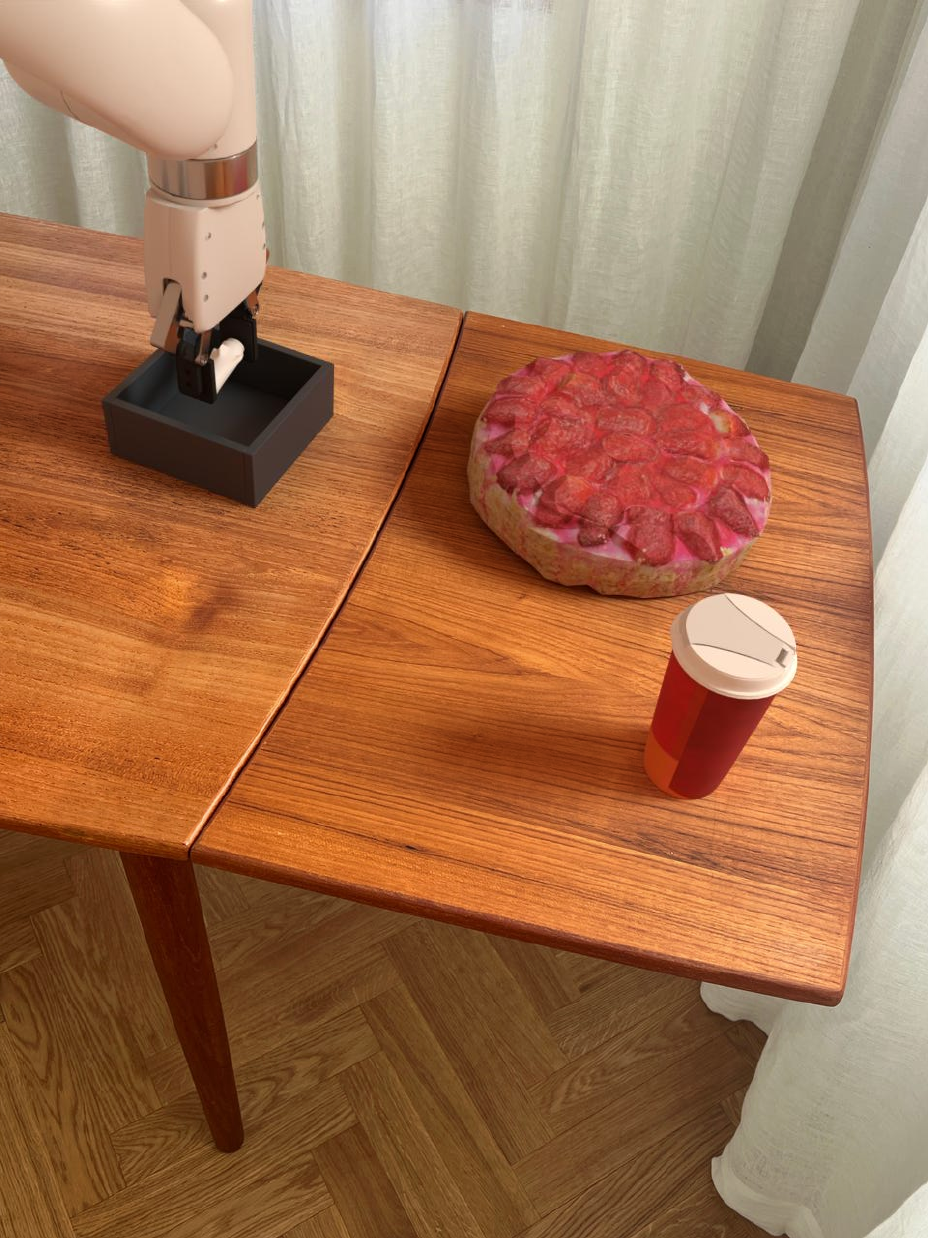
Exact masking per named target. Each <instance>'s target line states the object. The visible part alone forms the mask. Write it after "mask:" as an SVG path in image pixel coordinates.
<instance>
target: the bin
mask: <svg viewBox="0 0 928 1238" xmlns="http://www.w3.org/2000/svg"><path fill="white" fill-rule="evenodd" d="M196 337H197V333H196V332H195V331H193V330H190V329H187V328H185V337H184V341H187V342H189V343H191V344H193V345H195V346H196ZM257 345H258V359H257V360H256V361H255V362H253V363H250V362H247V361H244V360H241V361H240V362H239V363H238V364H237V365H236V367H235V368H234V370H233V371H232V373H231V374H230V375H229V377H228V378H227V380H226V381H225V383H224V384H223V385H222V387H221V388H220V390H219V391H218V393H217V400H216V401H215V402H214V403H213V404H208V403H205V402H203V401H200V400H197V399H194V398H192V397H189V396H186V395H183V394H181V393H180V392H179V389H178V381H177V372H176V363H175V356H172V355H170V354H169V353H168V352H166V351H164V350H161V349H158V348H156V350H154V351H153V352H152V353H151V354H149V356H148V357H147V358H145V359H144V360H143V361H142V362H141V363H140V364H138V366H137V367H136V368H135V369H133V370H132V371H131V372H130V373H129V374H128V375H127V376H125V378H124V379H122V381H120V382H119V383H118V384H117V385H116V386H114V387H113V388H112V389H111V390H110V391H109V392H108V393H106V395H105V396H103V397H102V398H101V400H100V402H101V406H102V414H103V418H104V424H105V429H106V435H107V441H108V446H109V452H110V454H112V455H115V456H118V457H119V458H123V459H125V460H127V461H131V462H133V463H136V464H139V465H140V466H144V467H146V468H148V469H152V470H154V471H156V472H159V473H162V474H165V475H168V476H170V477H172V478H175V479H178V480H180V481H183V482H186V483H188V484H190V485H194V486H196V487H199V488H201V489H204V490H207V491H209V492H211V493H214V494H218V495H220V496H222V497H225V498H228V499H231V500H234V501H237V502H238V503H241V504H243V505H246V506H249V507H251V508H255V509H256V508H257V506H258V505H259V504H260V503H261V502H262V501H263V500H264V498H265V497H266V496H267V495H268V494H269V493H270V491H271V490H272V489H273V488H274V487H275V486H276V484H277V483H278V481H280V480H281V478H282V477H283V476H284V474H286V472H287V471H288V470H289V469H290V468H291V466H292V465H293V464H294V463H295V462H296V460H297V459H298V458H299V457H300V456H301V455H302V454H303V452H304V451H305V450H306V449H307V447H308V446H309V445H310V444H311V443H312V442H313V440H315V438H316V437H317V435H318V434H319V433H320V432H321V431H322V430H323V428H325V426H327V424H328V423H329V422H330V420H331V419H332V418H333V417H334V415H335V414H334V413H335V410H334V409H335V408H334V407H335V363H334V362H330V361H327V360H324V359H322V358H318V357H316V356H313V355H310V354H307V353H304V352H301V351H299V350H296V349H292V348H290V347H286V346H283V345H281V344H278V343H275V342H272V341H271V340H267V339H263V338H261V337H258V336H257ZM220 346H221V343H220V330H219V323H218V324H217V325H215V326H214V327H213V328H212V331H211V339H210V348H209V356H208V358H210V355H211V353H212V350H213V349H214V348H215V349H219V348H220Z"/></svg>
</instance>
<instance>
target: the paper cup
mask: <svg viewBox="0 0 928 1238" xmlns="http://www.w3.org/2000/svg"><path fill="white" fill-rule="evenodd" d="M669 636H670V642H671V652H670V656H669V659H668V662H667V666H666V669H665V672H664V677H663V680H662V684H661V687H660V690H659V694H658V698H657V701H656V704H655V709H654V712H653V715H652V720H651V723H650V727H649V731H648V735H647V738H646V742H645V746H644V753H643V766H644V770H645V772H646V774H647V776H648V778H649V779H650V781H651V783H653V784H654V785H655V787H657V788H658V789H660V790H661V791H662V792H664V793H666V794H667V795H669V796H672V797H673V798H678V799H682V800H698V799H702V798H705V797H707V796H709V795H711V794H712V793H714V792H715V791H716V790H717V789H718V788H719V786H720V785H721V784H722V782H723V781H724V780H725V778H726V777H727V775H728V773H729V772H730V770H731V769H732V768H733V766H734V764H735V762H736V761H737V759H738V758H739V756H740V754H741V753H742V751H743V750H744V748H745V747H746V745H747V743H748V742H749V740H750V739H751V737H752V735H753V734H754V732H755V730H756V729H757V727H758V726H759V724H760V722H761V720H762V719H763V717H764V716H765V714H766V712H767V711H768V710H769V708H770V706H771V704H772V703H773V701H774V700H775V698H776V697H777V695H778V693H780V692H782V691H783V690H784V689H785V688H787V687H788V686H789V685H790V684H791V682H792V680H793V679H794V677H795V674H796V672H797V667H798V655H797V642H796V638H795V636H794V633H793V630H792V628H791V627H790V625H789V624H788V622H787V621H786V619H785V618H784V617H783V616H782V615H781V614H780V613H779V612H778V611H777V610H775V609H774V608H773V607H771V606H769V605H768V604H766V603H764V602H763V601H760V600H759V599H756V598H754V597H750V596H747V595H744V594H740V593H739V594H738V593H729V592H727V593H719V594H715V595H710V596H708V597H705V598H703V599H701V600H699V601H697V602H694V603H692V604H690V605H688V606H687V607H686V608H685V609H684V610H682V611H680V612H679V613H678V614H677V615H676V616H675V617H674V619H673V621H672V623H671V624H670V629H669Z"/></svg>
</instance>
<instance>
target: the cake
mask: <svg viewBox="0 0 928 1238" xmlns="http://www.w3.org/2000/svg"><path fill="white" fill-rule="evenodd" d="M466 476H467V481H468V484H469V502H470V504H471V505H472V507H473V508H474V510H475V511H476V513H477V514H478V516H479V517H480V519H481V520H482V521H483V522H484V523H485V524H486V526H487V527H488V528H489V530H491V531H492V532H493V533H494V534H495V535H496V536H497V537H498V538H499V539H500V541H502V542H503V543H504V544H505V545H507V547H508V548H509V549H511V550H512V551H513V552H514V553H515V554H516V555H517V556H519V557H520V558H522V559H523V560H525V561H526V562H527V563H528V564H530V565H531V566H532V567H533V568H534V569H535V570H536V571H537V572H538V573H539V574H540V575H541V576H542V577H543V578H544V579H546V580H548V581H551V582H554V583H557V584H561V585H563V586H566V587H569V586H585V585H586V586H588V587H590V588H592V589H593V590H595V591H596V592H598V593H599V594H601V595H603V596H604V595H605V596H613V595H614V596H627V597H635V598H640V599H641V598H642V599H648V598H649V599H650V598H662V597H672V596H673V597H674V596H682V595H686V594H687V595H689V594H693V593H697V592H701V591H705V590H709V589H713V588H715V587H717V585H719V584H720V583H721V582H722V581H723V580H724V579H725V578H726V577H727V576H728V575H729V574H731V573H733V572H734V571H735V570H736V569H738V568H739V567H740V566H741V565H742V562H743V561H744V559H745V558H746V557H747V555H748V553H749V552H750V550H751V549H752V548H753V546H754V545H755V544H756V543H757V542H758V540H759V539H760V538H761V537H762V534H763V532H764V529H765V527H766V526H767V522H768V519H769V516H770V513H771V509H772V508H771V507H772V502H773V487H772V479H771V478H772V477H771V469H770V459H769V455H768V454H767V453H765V452H764V450H763V449H762V448H761V447H760V446H759V444H758V441H757V440H756V438H755V435H754V434H753V432H752V430H751V429H750V427H749V425H748V423H747V422H746V420H745V418H743V417H742V416H740V415H739V414H738V413H737V412H735V411H734V410H733V409H732V408H731V407H730V406H729V405H728V403H727V402H726V401H725V400H724V398H723V397H722V396H721V395H720V394H719V393H718V392H716V391H714V390H713V389H711V388H709V387H708V386H705V385H704V384H702V383H700V382H699V381H697V380H696V379H694V378H693V377H692V376H691V375H690V374H689V373H688V371H687V369H686V368H684V366H683V365H682V364H681V363H679V362H677V361H674V360H671V359H668V358H654V359H653V358H651V357H648V356H644V355H643V354H640V353H638V352H636V351H634V350H633V349H631V348H628V349H623V350H617V351H616V350H615V351H610V352H603V353H598V352H590V351H589V352H588V351H578V352H577V351H576V352H573V353H568V354H564V355H560V356H556V357H545V356H538V357H536V358H535V359H533V360H532V361H530V362H528V363H527V364H526V365H525V366H523V367H522V368H520V369H518V370H516V371H515V372H514V373H513V372H512V373H511V374H510V375H508V376H506V377H503V378H502V379H499V380H498V384H497V386H496V388H495V390H494V392H493V394H492V395H491V397H490V398H489V400H488V401H487V403H486V404H485V406H484V407H483V408H482V410H481V412H480V414H479V416H478V417H477V420H476V422H475V424H474V427H473V433H472V436H471V442H470V452H469V456H468V462H467V467H466Z"/></svg>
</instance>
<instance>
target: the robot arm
mask: <svg viewBox="0 0 928 1238" xmlns="http://www.w3.org/2000/svg"><path fill="white" fill-rule="evenodd" d="M253 18H254V17H253V0H0V59H1V60H2V62H3V64H4V67H5V69H6V70H7V72H8V74H9V75H10V77H11V78H12V79H13V81H14V82H15V83H16V85H18V86H19V88H21V90H23V91H24V92H25V93H27V95H29V96H30V97H31V98H33V99H35V100H36V101H37V102H39V103H41V104H42V105H44V106H46V107H48V108H50V109H52V110H55V111H57V112H58V113H60V114H62V115H65V116H67V117H68V118H71V119H72V120H75V121H77V122H79V123H82V124H84V125H86V126H88V127H91V128H94V129H97V130H98V131H100V132H103V133H105V134H107V135H109V136H111V137H113V138H115V139H117V140H119V141H121V142H123V143H125V144H127V145H129V146H131V147H133V148H135V149H137V150H139V151H141V152H144V153H145V158H146V159H145V160H146V167H147V175H148V183H149V186H150V188H149V189H148V190H147V191H146V193H145V199H144V208H143V226H142V237H143V238H142V241H143V242H142V247H143V248H142V249H143V271H144V285H145V296H146V305H147V310H148V314H149V315H150V317H151V318H152V319H155V323H154V325H153V329H152V332H151V334H150V338H149V339H150V340H149V344H150V346H151V347H153V348H155V349H161V350H164V351H166V352H168V353H169V354H170V355H172V356H175V363H176V372H177V381H178V389H179V392H180V393H181V394H183V395H186V396H189V397H192V398H194V399H197V400H200V401H203V402H205V403H208V404H213V403H214V402H215V401H216V400H217V391H216V378H215V365H214V360H212V359H211V358H208V356H209V348H210V339H211V331H212V328H213V327H214V326H215V325H217V324H219V330H220V343H221V345H222V343H223V342H224V341H227V340H228V339H229V338H233V339H236V340H238V341H239V342H240V343H241V344H242V345H243V346H244V352H243V357H242V359H241V360H244V361H247V362H250V363H253V362H255V361H256V360H257V359H258V345H257V337H258V328H257V327H258V325H257V319H256V318H255V317H256V316H258V315H259V312H260V308H261V307H260V306H261V305H260V301H259V298H258V296H259V293H260V290H261V287H262V286H263V282H264V277H265V274H266V269H267V264H268V261H269V259H270V250H269V249H268V247H267V238H266V225H265V224H266V223H265V214H264V206H263V198H262V191H261V186H260V179H259V178H260V177H259V154H258V153H259V151H258V150H259V149H258V128H257V127H258V126H257V102H256V101H257V99H256V75H255V74H256V73H255V72H256V71H255V48H254V46H255V45H254V20H253ZM185 328H187V329H190V330H193V331H195V332H196V333H197V337H196V346H195V345H193V344H191V343H189V342H187V341H184V337H185ZM198 398H199V399H198Z"/></svg>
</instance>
